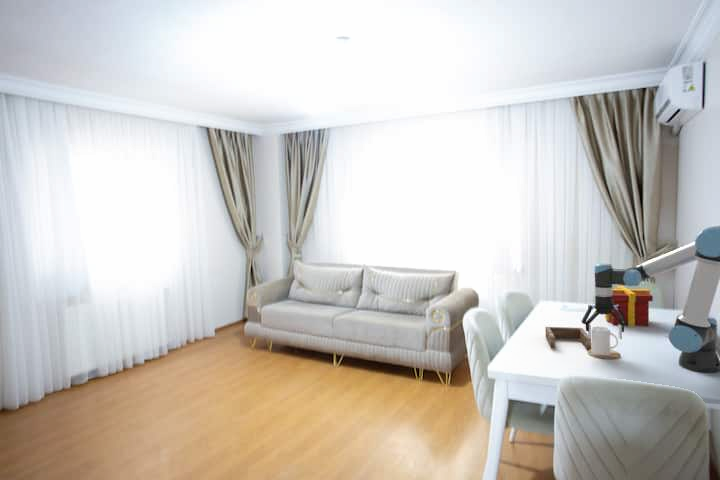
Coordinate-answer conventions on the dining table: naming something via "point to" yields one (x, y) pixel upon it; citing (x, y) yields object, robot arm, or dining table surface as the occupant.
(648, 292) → the gift box
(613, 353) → the coaster
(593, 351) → the mug
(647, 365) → the dining table surface
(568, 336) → the cradle
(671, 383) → the dining table surface
